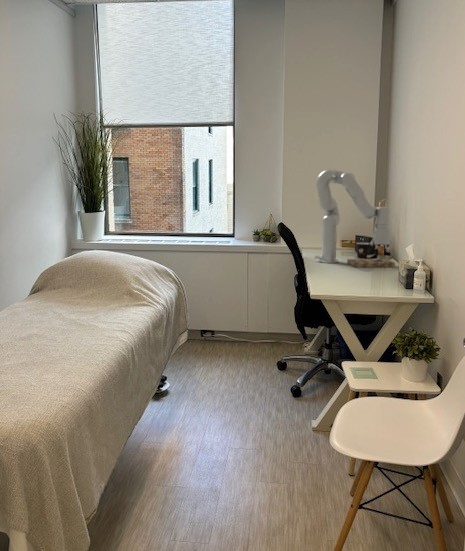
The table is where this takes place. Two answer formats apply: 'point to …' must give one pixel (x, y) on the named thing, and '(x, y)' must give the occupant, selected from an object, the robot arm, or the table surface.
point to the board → (370, 263)
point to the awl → (380, 253)
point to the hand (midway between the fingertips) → (380, 254)
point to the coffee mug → (363, 250)
